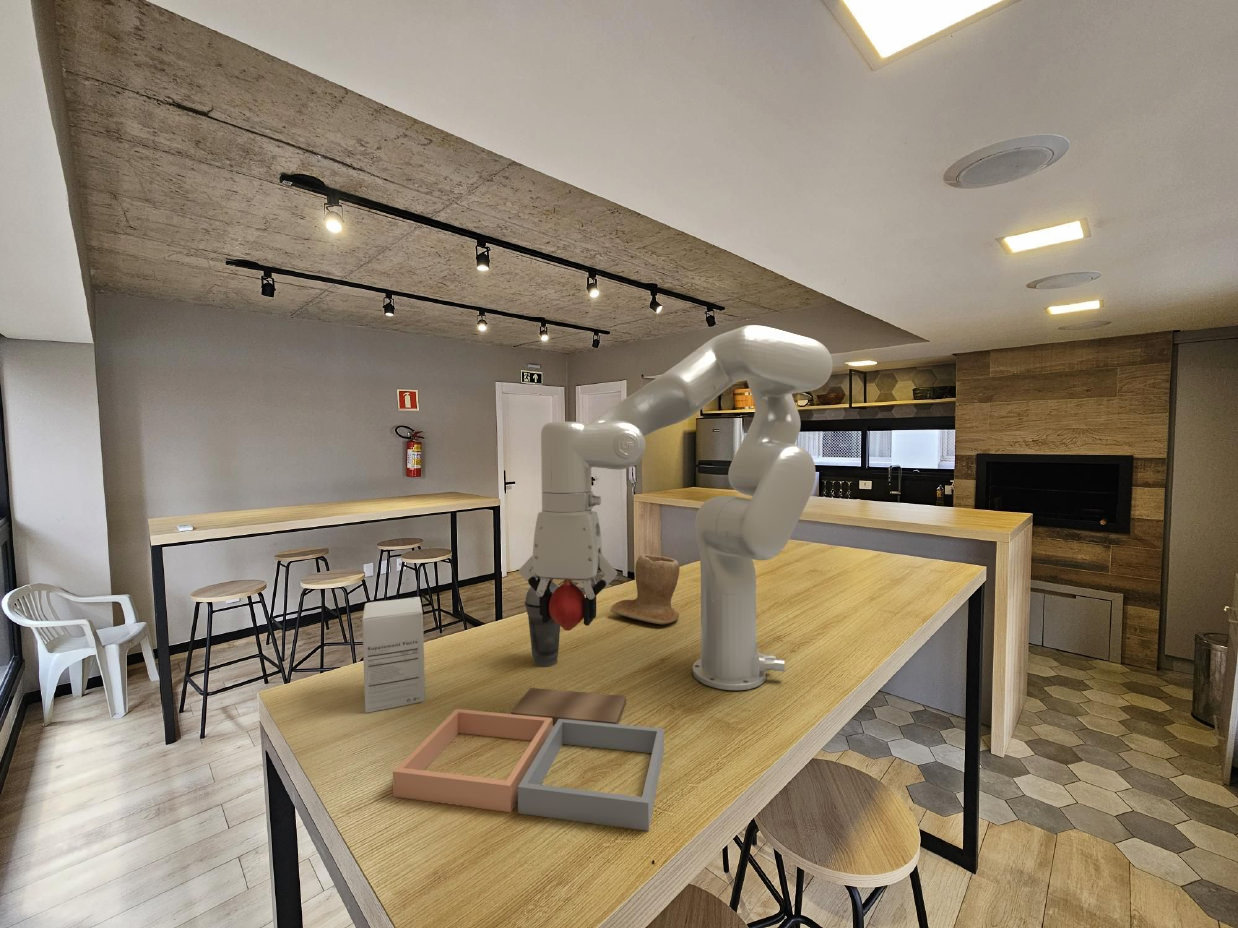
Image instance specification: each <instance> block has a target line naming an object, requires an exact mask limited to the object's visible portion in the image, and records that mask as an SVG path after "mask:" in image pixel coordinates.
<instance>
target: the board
mask: <svg viewBox="0 0 1238 928" xmlns="http://www.w3.org/2000/svg"><path fill="white" fill-rule="evenodd" d="M626 705H627V695H622V694H621V695H620V694H609V693H607V694H606V693H599V692H597V693H596V692H585V691H571V690H560V689H549V688H547V689H546V688H536V687H530V688H529V689H528V690H527V691H526V693H525V694H524V695H523V696H522V697H521V699H519V701H518V703H516V705H515V707H513V709H512V710H511V711H510V714H514V715H525V716H535V717H546V718H553V725H554V726H555V724H556V722H557V721H558V719H567V720H577V721H588V722H598V723H609V724H619V723H620V721H621V718H622V716H623V713H624V711H625V709H626V708H625V707H626Z"/></svg>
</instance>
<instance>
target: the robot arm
mask: <svg viewBox="0 0 1238 928" xmlns="http://www.w3.org/2000/svg"><path fill="white" fill-rule="evenodd" d="M833 363H834V362H833V358H832V355H831V353H830V352H829V349H828V348H827V347H826V346H825V345H824V344H823V343H822V342H820V341H818V340H816V339H814V338H811V337H807V336H804V335H803V336H802V335H800V334H795V333H792V332H789V331H785V330H782V329H781V330H780V329H778V328H773V327H770V326H765V325H764V326H763V325H760V324H759V325H758V324H756V325H754V324H750V325H749V324H748V325H744V326H741V327H738V328H735V329H732V330H729V331H727V332H724V333H721V334H719V335H716V336H714V337H713V338H711V339H709V340H708V341H706V342H705V343H703V344H702V345H701V346H699V347H698V348H697V349H695V350H694V351H693V352H691V353H690V354H689V355H688V356H686V357H684V359H682V360H681V361H680V362H678V363H677V364H675V365H674V366H673V367H670V368H669V369H668V370H667V371H665V372H664V373H663V374H661V375H660V376H658V377H657V378H655V379H653V380H652V381H650V382H648V383H647V384H645V385H644V386H643V387H642V388H640V389H638V390H636V391H635V392H634V393H632V394H631V395H628V396H627V397H625V398H623V399H622V400H620V401H619V402H617V403H616V404H615V405H612V406H611V407H610V408H609V409H608V410H606V411H604V412H603V413H602V414H600V415H599V416H598V417H597V418H595V419H594V420H592V421H591V422H589V423H584V422H581V421H551V422H547V423H545V424H544V425H543V427H542V428H541V432H540V449H541V451H540V454H541V458H540V459H541V469H540V471H541V511H540V512H538V513H537V515H536V516H537V517H536V521H535V528H534V536H533V544H532V545H533V548H532V555H531V556H530V557H529V558H528V559H527V560H526V561H525V563H524V564H523V565H522V566H521V567H520V568H519V570H518V573H519V575H520V576H521V577H522V578H523V579H524V580H525V581H527V582H528V585H529V587H532V588H533V589H534V590H535V591H536V594H537V596H539V604H540V615H542V623H547V622H548V621H549V620H550V619H551V616H550V614H549V601H550V597H551V595H552V594H553V593H552V592H550V587H551V584H552V582H554V581H553V580H563V581H564V580H571V581H580V582H581V584H582V587H583V590H584V593H585V599H584V601H583V605H584V618H583V625H584V626H587V627H588V626H590V624H592V622H593V621H594V619H596V617H597V595H598V594H600V593H601V592H602V591H603V590H604V589H605V588H606V587H607V585H609V584H611V582H612V581H613V580H614V579H615V578H617V575H618V571H617V570H616V569H615V568H614V566H613V565H611V563H610V562H609V561H608V560H607V559H606V558H605V557H604V555H603V543H602V534H601V533H602V532H601V526H600V519H599V514H598V511H595V510H592V509H593V508H594V507H596V506H601V503H602V497H601V496H600V495H598V496H596V495H595V494H594V492H593V491H592V468H595V469H596V468H597V469H607V470H608V469H609V470H617V471H619V470H627V469H629V468H631V467H634V466H635V465H636V464H638V463H639V462H640V461H641V459H642V458H643V456H644V454H645V452H646V438H645V437H646V436H647V435H649V434H651V433H653V432H656V431H658V430H660V429H663V428H667V427H669V426H670V427H671V426H673V425H676V424H680V423H681V422H683V421H686V420H688V419H690V418H692V417H693V416H695V415H696V414H697V413H698V412H700V411H701V410H702V409H704V408H705V407H706V406H707V405H708V404H709V403H711V402H712V401H713V400H715V399H716V398H717V397H719V396H720V395H721V394H723V393H725V391H726V390H727V389H729V388H730V387H731V386H733V385H734V384H736V383H738V382H740V381H741V382H742V381H746V382H747V385H748V389H749V391H750V394H751V396H752V399H753V402H754V416H753V418H752V421H751V423H750V426H749V428H748V430H747V432H746V434H745V436H744V437H743V440H742V441H741V444H740V446H739V447H738V449H737V451H736V453H735V455H734V457H733V459H732V460H731V463H730V466H729V468H728V473H727V475H728V477H727V478H728V482H729V484H730V486H731V487H732V489H734V491H736V492H738V493H740V494H742V495H746V496H749V497H752V498H746V497H739V496H734V495H733V496H731V495H718V496H714V497H711V498H709V499H706V500H705V501H704V502H703V503H702V505H700V507H699V509H698V511H697V512H696V516H695V519H694V520H695V521H694V523H695V525H694V529H695V530H694V532H695V537H696V543H697V547H698V553H699V562H700V630H701V631H700V637H701V638H700V645H701V646H700V649H701V650H700V651H701V652H700V653H701V655H700V658H698V659H697V660H696V661H695V662H694V663H693V664H692V673H693V677H694V678H695V679H696V680H698V682H701V683H702V684H703V685H706V686H708V687H710V688H711V687H712V688H715V689H718V690H719V689H720V690H725V691H726V690H727V691H745V690H746V691H747V690H751V689H754V688H758V687H759V686H762V684H763V683H764V682H765V681H766V677H767V676H766V675H767V674H766V673H767V672H766V671H775V672H785V670H786V669H785V668H786V666H785V659H782V658H781V659H780V658H776V655H775V654H762V652H759V648H758V645H757V574H756V568H755V564H754V561H753V560H756V561H768V560H771V559H773V558H775V557H776V556H778V555H779V554H780V553H781V552H782V551H783V549H784V548H785V547H786V545H787V544H788V542H789V540H790V538H791V536H792V534H793V532H794V530H795V528H796V527H797V525H798V522H799V520H800V517H801V516H802V515H803V512H804V509H805V507H806V505H807V504H808V502H809V500H810V497H811V494H812V492H813V489H814V487H815V481H816V474H817V473H816V465H815V460H814V459H813V457H812V454H810V452H809V451H808V450H807V449H805V448H804V447H802V446H801V445H799V444H796V441H797V440H798V437H799V435H800V431H801V423H802V422H801V417H800V413H799V411H798V407H797V405H796V403H795V400H794V397H793V394H799V393H806V392H807V393H808V392H811V391H815V390H818V389H820V388H822V386H824V385H826V383H827V382H828V381H829V379H830V377H831V375H832V373H833V369H834V368H833ZM601 572H603V573H604V576H603V577H602V578H600V580H599V581H598V582H597V581H596V579H595V578H596V577H597V574H599V573H601ZM539 577H540V578H541V579H540V578H539Z"/></svg>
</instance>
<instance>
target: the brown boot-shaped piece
mask: <svg viewBox="0 0 1238 928" xmlns="http://www.w3.org/2000/svg"><path fill="white" fill-rule="evenodd" d="M680 571H681V569H680V563H679V561H678V560H676V559H674V558H671V557H666V556H660V555H655V554H654V555H652V554H641V555H640V556H639V557H638V558H637V560H636V562H635V585H636V590H637V591H636V593H637V594H636V595H637V597H636V598H635V599H622V600H619V601H617V602H615V603H614V604H613V605H611V607H610V610H609V611H610V612H611V613H614V614H616V615H620V616H624V617H626V618H629V619H633V620H636V621H637V620H638V621H642V622H646V623H651V624H656V625H667V624H671V623H673V622H675V621H677V620H678V619H679V618H680V613H679V612H678V611H677V610H675V608H673V607H672V599H673V596H674V592H675V590H676V588H677V585H678V581H679V577H680Z"/></svg>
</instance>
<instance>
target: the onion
mask: <svg viewBox="0 0 1238 928" xmlns="http://www.w3.org/2000/svg"><path fill="white" fill-rule="evenodd" d="M585 598H586V595H585V594H584V593H583V590H581V589H580V587H578V586H577V585H575V584H573V582H572V580H563V583H562V584H561V585H560V586H558V588H557V589H556V590H555V591H554V592H553V594H552V595H551V597H550V601H549V614H550V616H551V618H552V619H553V620H554V621H555V622H556V623H557V624H559V625H560V628H562V629H563V630H565V631H571V630H572V629H574V628H575V627H577V625H579V624H580V623H581V622H582V621H583V620H584V605H583V601H584V599H585Z"/></svg>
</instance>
